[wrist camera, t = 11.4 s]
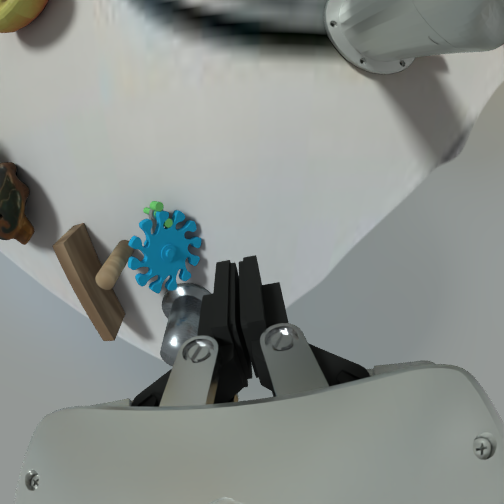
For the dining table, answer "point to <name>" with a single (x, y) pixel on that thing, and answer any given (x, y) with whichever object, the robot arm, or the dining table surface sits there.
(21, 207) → the decorative turtle
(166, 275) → the gear
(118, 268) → the dowel pin
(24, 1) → the apple
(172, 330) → the post
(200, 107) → the dining table surface
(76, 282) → the brown wooden plank
